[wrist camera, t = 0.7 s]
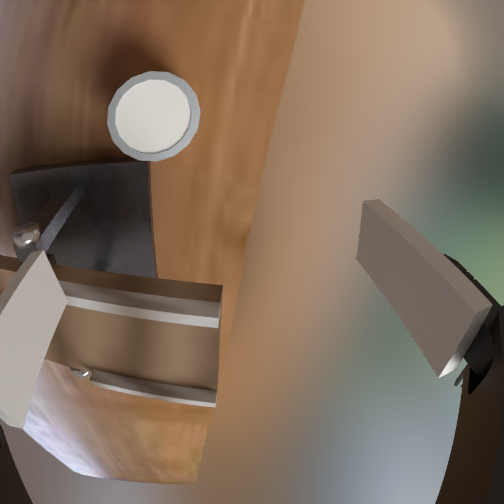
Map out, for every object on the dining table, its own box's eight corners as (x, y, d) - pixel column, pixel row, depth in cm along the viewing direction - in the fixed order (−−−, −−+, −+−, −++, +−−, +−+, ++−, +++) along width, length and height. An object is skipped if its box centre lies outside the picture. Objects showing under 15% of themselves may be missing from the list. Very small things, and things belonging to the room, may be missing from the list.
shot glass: (165, 154, 27) (159, 179, 21) (111, 114, 23) (89, 128, 17) (213, 101, 25) (220, 110, 19) (158, 57, 21) (148, 52, 15)
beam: (-9, 317, 23) (-26, 344, 19) (-45, 238, 17) (-71, 264, 13) (219, 369, 25) (215, 413, 21) (224, 272, 18) (217, 326, 15)
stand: (50, 296, 33) (23, 375, 22) (15, 170, 23) (-54, 232, 12) (160, 296, 36) (158, 385, 26) (150, 156, 26) (125, 220, 16)
